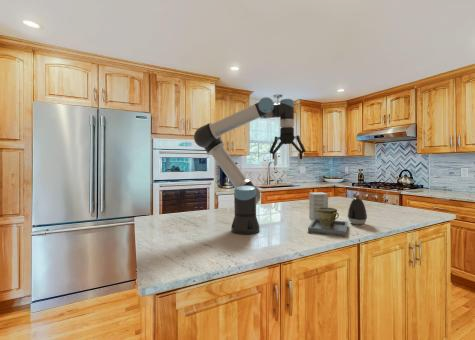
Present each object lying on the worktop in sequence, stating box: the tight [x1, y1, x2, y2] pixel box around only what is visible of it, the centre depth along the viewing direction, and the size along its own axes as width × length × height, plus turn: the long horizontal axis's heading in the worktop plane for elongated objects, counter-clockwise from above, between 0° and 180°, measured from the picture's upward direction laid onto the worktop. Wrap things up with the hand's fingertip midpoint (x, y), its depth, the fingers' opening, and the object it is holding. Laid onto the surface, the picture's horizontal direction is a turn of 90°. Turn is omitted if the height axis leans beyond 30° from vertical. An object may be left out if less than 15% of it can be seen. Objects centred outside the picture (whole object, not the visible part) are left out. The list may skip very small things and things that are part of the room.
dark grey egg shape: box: [347, 197, 368, 226], centre depth 142 cm, size 10×10×15 cm
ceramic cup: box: [318, 206, 339, 229], centre depth 131 cm, size 13×10×10 cm
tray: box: [307, 219, 348, 237], centre depth 132 cm, size 18×21×2 cm
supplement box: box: [308, 191, 329, 221], centre depth 153 cm, size 10×9×17 cm
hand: (287, 165), depth 137 cm, fingers open, 13 cm apart
